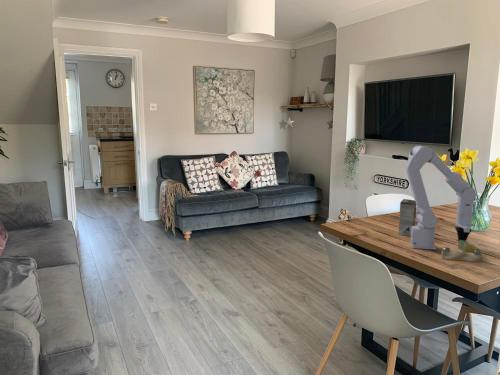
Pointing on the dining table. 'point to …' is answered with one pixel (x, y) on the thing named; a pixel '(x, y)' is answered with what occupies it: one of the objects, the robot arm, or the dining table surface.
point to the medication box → (467, 246)
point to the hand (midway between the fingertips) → (461, 244)
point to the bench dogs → (447, 250)
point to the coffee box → (407, 216)
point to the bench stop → (461, 256)
